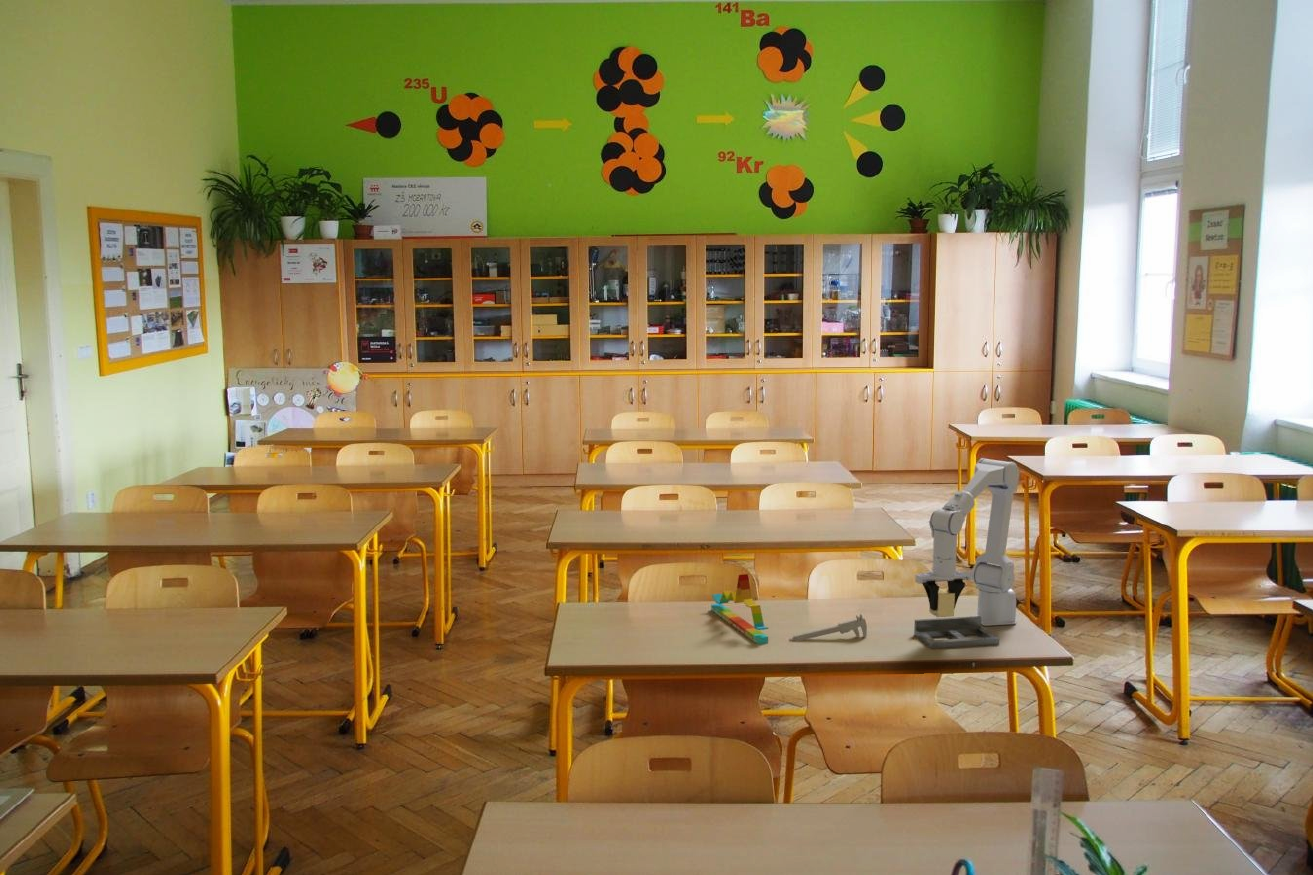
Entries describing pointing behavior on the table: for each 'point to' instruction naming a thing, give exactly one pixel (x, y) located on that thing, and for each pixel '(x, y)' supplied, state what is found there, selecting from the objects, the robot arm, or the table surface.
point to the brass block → (944, 604)
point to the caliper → (835, 629)
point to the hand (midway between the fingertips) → (942, 608)
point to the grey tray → (953, 632)
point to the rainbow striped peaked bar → (740, 624)
